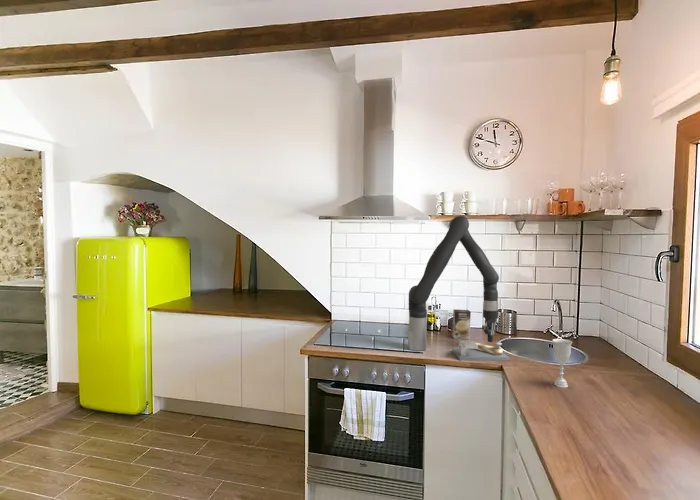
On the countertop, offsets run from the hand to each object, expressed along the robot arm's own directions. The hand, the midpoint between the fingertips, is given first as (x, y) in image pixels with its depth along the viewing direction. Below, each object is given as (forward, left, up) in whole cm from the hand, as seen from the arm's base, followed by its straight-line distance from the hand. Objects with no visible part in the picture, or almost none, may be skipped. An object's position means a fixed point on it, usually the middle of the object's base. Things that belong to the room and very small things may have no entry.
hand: (490, 341), depth 202 cm
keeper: (-16, -11, -5) cm, 20 cm away
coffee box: (-7, +26, -5) cm, 27 cm away
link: (-5, -6, -3) cm, 8 cm away
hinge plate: (-8, -8, -5) cm, 13 cm away
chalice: (+12, -45, -5) cm, 47 cm away
